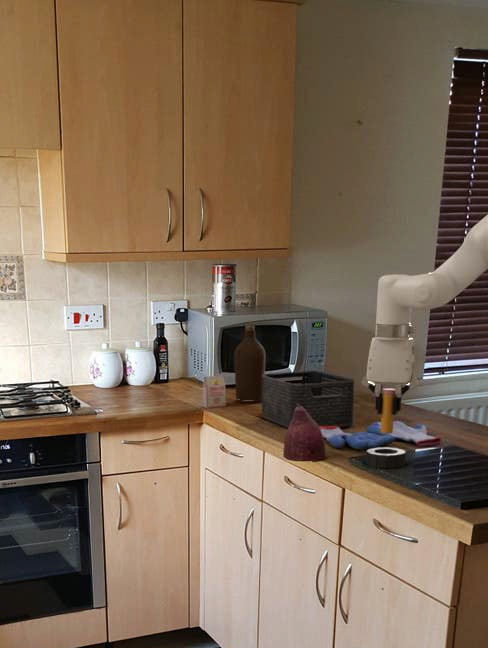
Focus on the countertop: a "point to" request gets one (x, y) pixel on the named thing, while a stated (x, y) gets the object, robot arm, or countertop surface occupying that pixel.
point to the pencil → (387, 411)
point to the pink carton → (214, 391)
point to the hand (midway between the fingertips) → (387, 412)
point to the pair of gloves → (379, 436)
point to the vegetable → (303, 438)
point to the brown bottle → (249, 368)
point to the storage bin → (308, 398)
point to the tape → (385, 457)
